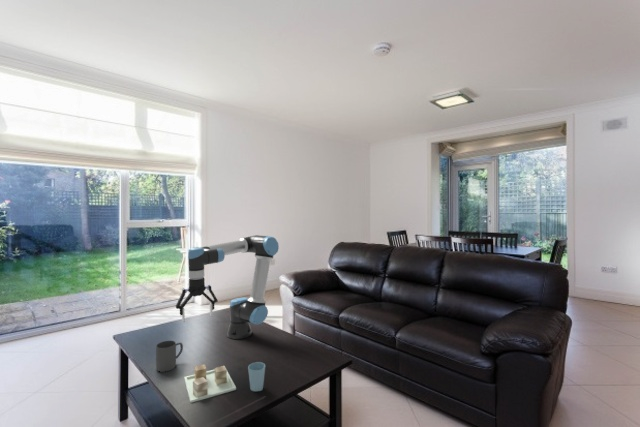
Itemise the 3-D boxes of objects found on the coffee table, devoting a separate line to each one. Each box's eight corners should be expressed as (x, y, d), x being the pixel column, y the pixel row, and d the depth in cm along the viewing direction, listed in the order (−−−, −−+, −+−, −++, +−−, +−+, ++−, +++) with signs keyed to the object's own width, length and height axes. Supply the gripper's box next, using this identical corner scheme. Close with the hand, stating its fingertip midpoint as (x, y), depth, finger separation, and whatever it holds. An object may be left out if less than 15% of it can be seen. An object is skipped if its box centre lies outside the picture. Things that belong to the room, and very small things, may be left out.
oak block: (204, 376, 150) (204, 364, 150) (206, 381, 146) (206, 368, 146) (194, 379, 148) (194, 366, 148) (195, 383, 144) (195, 371, 144)
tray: (224, 369, 157) (225, 366, 157) (236, 391, 139) (236, 387, 139) (184, 380, 148) (184, 376, 148) (190, 404, 130) (190, 400, 130)
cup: (244, 388, 141) (244, 365, 141) (259, 382, 146) (260, 360, 146) (252, 396, 136) (253, 372, 135) (268, 389, 141) (268, 366, 140)
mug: (162, 374, 153) (162, 349, 153) (152, 368, 158) (152, 345, 158) (187, 362, 164) (187, 340, 164) (177, 358, 169) (177, 336, 169)
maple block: (203, 390, 139) (202, 377, 139) (207, 394, 135) (207, 381, 135) (192, 394, 135) (192, 380, 135) (197, 399, 132) (197, 385, 132)
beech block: (224, 378, 149) (224, 365, 149) (226, 382, 145) (226, 369, 145) (214, 380, 146) (214, 367, 146) (216, 385, 143) (216, 372, 142)
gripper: (219, 273, 171) (220, 311, 172) (169, 279, 158) (170, 321, 159) (223, 276, 164) (223, 315, 165) (170, 282, 151) (172, 325, 152)
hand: (197, 318), depth 162 cm, fingers open, 13 cm apart
